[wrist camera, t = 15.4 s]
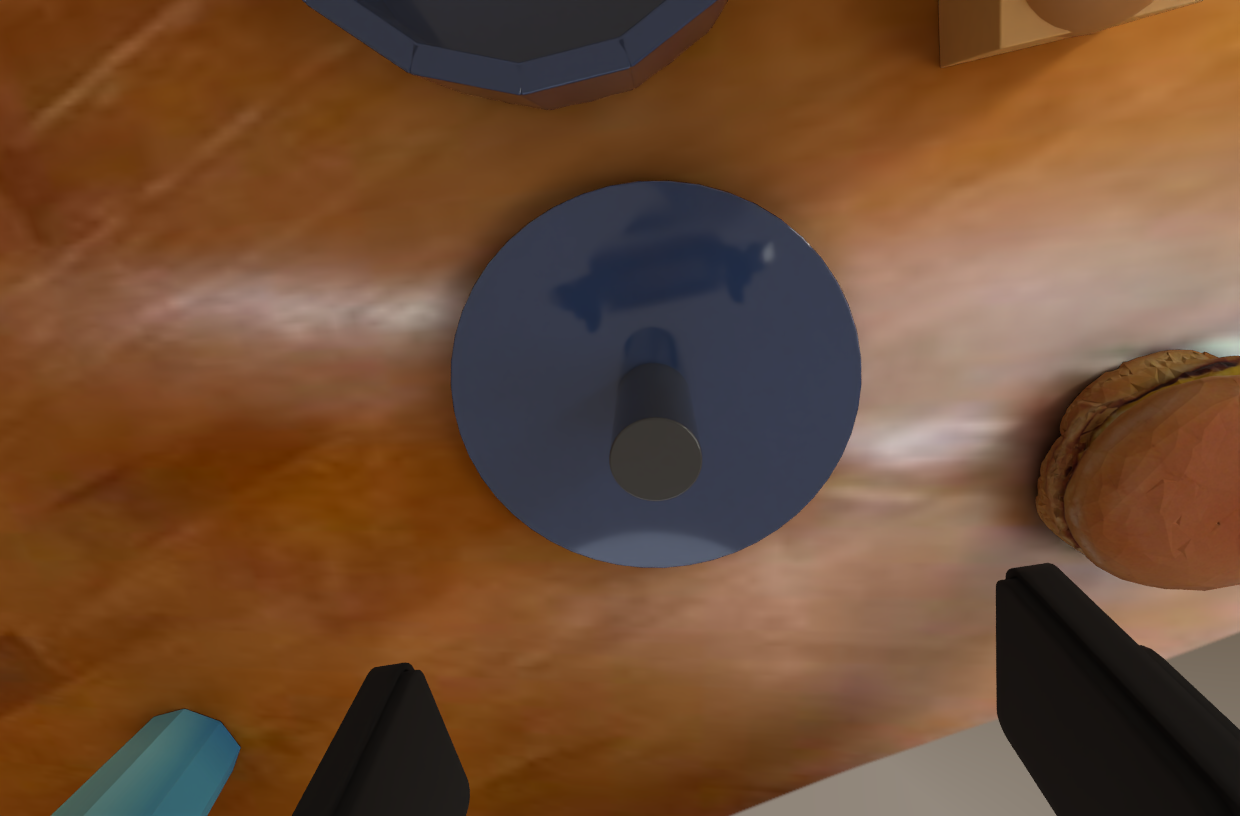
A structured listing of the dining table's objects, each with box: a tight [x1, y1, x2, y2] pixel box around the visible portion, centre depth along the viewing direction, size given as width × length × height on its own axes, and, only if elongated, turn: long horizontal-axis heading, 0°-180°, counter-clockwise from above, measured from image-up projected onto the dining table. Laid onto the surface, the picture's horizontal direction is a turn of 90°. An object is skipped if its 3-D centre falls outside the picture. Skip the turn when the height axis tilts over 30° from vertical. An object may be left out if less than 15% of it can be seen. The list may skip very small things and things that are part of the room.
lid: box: [451, 180, 861, 568], centre depth 23 cm, size 17×17×7 cm
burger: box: [1036, 350, 1240, 591], centre depth 25 cm, size 10×9×5 cm
